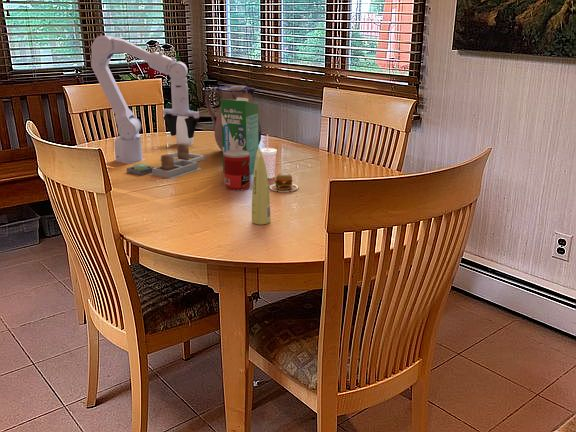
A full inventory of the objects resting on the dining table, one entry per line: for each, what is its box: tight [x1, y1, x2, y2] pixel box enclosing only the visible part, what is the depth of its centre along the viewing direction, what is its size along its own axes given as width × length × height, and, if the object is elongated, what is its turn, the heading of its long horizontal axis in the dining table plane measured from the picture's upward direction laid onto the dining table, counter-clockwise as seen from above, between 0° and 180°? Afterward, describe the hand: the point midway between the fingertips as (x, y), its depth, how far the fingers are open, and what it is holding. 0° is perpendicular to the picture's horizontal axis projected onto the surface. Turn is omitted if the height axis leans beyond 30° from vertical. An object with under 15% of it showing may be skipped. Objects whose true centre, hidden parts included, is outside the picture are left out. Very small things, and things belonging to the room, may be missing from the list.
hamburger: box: [269, 172, 299, 193], centre depth 178 cm, size 12×12×6 cm
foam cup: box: [174, 114, 195, 146], centre depth 233 cm, size 10×9×13 cm
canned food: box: [223, 150, 251, 191], centre depth 178 cm, size 8×8×11 cm
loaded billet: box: [160, 153, 175, 171], centre depth 189 cm, size 4×4×6 cm
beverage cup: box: [260, 134, 278, 179], centre depth 189 cm, size 6×6×14 cm
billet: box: [176, 143, 190, 160], centre depth 207 cm, size 4×4×6 cm
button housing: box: [126, 165, 156, 176], centre depth 192 cm, size 6×6×2 cm
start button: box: [133, 163, 149, 171], centre depth 191 cm, size 4×4×3 cm
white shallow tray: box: [170, 151, 207, 163], centre depth 208 cm, size 13×10×2 cm
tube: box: [251, 146, 271, 226], centre depth 148 cm, size 6×5×20 cm
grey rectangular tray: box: [149, 160, 202, 180], centre depth 193 cm, size 10×15×3 cm, turn 147°
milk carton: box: [220, 98, 260, 175], centre depth 192 cm, size 9×9×25 cm
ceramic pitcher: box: [204, 85, 262, 152], centre depth 217 cm, size 18×21×25 cm
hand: (182, 136), depth 205 cm, fingers open, 7 cm apart
